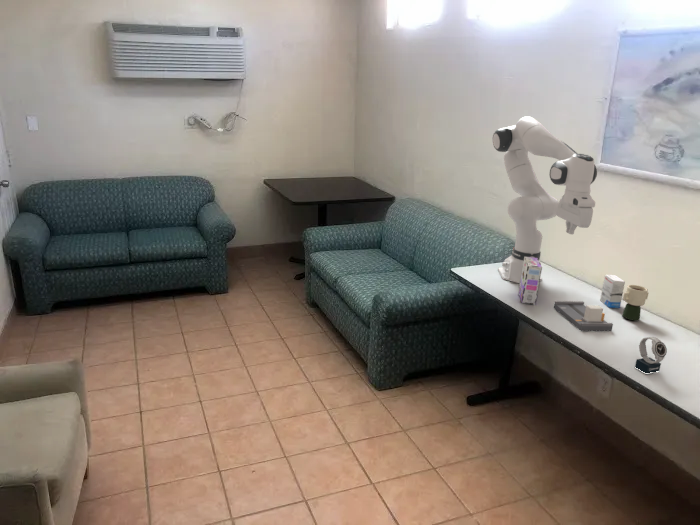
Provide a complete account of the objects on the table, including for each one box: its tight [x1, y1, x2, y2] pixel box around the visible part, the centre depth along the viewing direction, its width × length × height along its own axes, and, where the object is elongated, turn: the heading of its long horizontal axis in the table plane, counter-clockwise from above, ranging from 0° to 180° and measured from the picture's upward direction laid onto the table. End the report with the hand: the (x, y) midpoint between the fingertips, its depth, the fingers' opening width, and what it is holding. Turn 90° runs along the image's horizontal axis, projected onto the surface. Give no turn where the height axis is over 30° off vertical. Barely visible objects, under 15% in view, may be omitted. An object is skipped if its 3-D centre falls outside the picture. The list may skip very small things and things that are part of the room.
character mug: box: [622, 284, 649, 322], centre depth 214 cm, size 11×7×13 cm, turn 104°
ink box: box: [599, 274, 626, 309], centre depth 228 cm, size 9×5×12 cm, turn 0°
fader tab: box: [582, 304, 604, 323], centre depth 204 cm, size 4×6×6 cm, turn 96°
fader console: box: [553, 300, 614, 332], centre depth 212 cm, size 22×12×5 cm, turn 6°
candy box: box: [518, 257, 543, 306], centre depth 228 cm, size 14×6×16 cm, turn 168°
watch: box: [634, 336, 668, 373], centre depth 173 cm, size 6×8×11 cm
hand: (569, 233), depth 213 cm, fingers closed
